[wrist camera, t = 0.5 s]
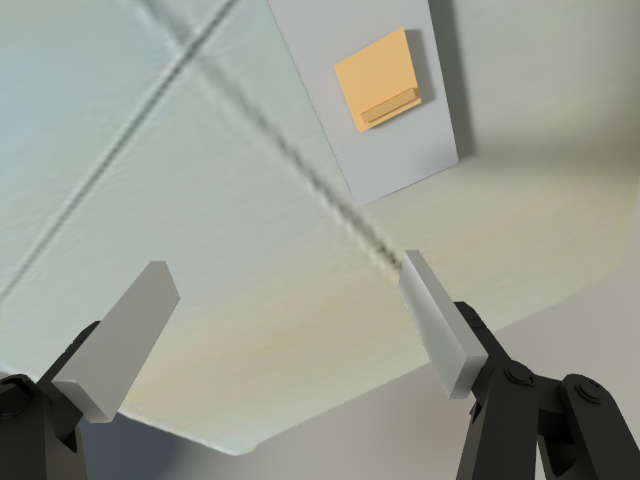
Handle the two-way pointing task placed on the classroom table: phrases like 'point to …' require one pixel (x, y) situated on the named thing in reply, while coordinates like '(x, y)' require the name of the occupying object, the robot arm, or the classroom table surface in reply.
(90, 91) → the classroom table surface
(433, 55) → the socket board
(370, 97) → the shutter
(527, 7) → the classroom table surface
